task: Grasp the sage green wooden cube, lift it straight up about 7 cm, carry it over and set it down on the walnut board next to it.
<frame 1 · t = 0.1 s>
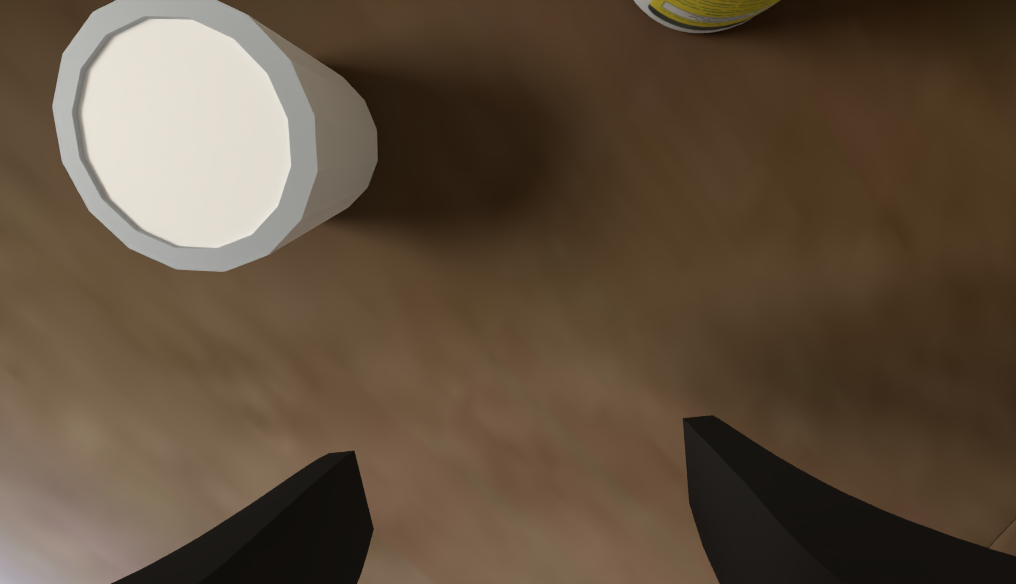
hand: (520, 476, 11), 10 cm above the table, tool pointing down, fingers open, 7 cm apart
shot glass: (307, 142, 20), on the table
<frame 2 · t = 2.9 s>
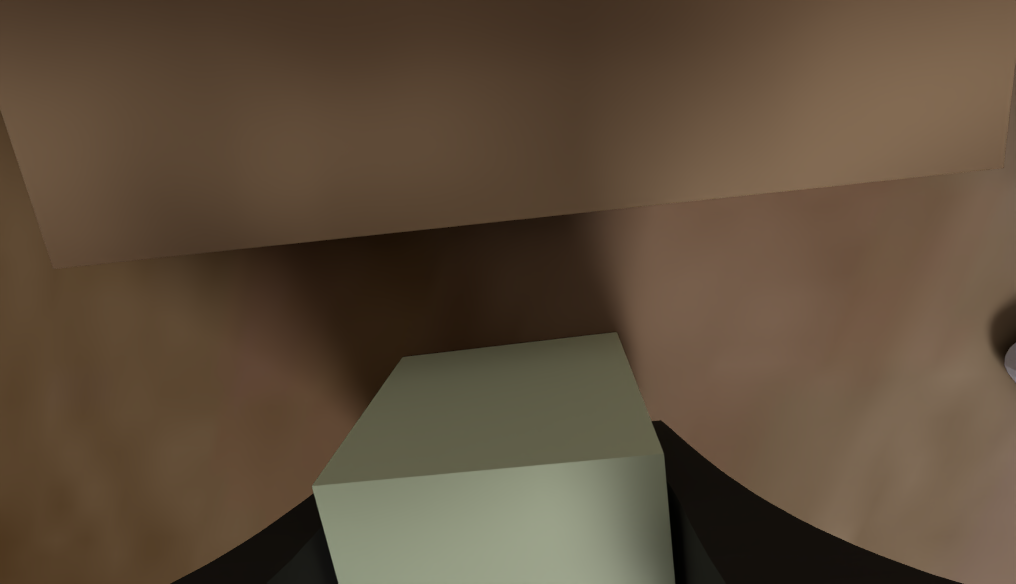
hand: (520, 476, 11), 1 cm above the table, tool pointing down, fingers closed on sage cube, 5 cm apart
sage cube: (522, 441, 13), on the table, touching gripper
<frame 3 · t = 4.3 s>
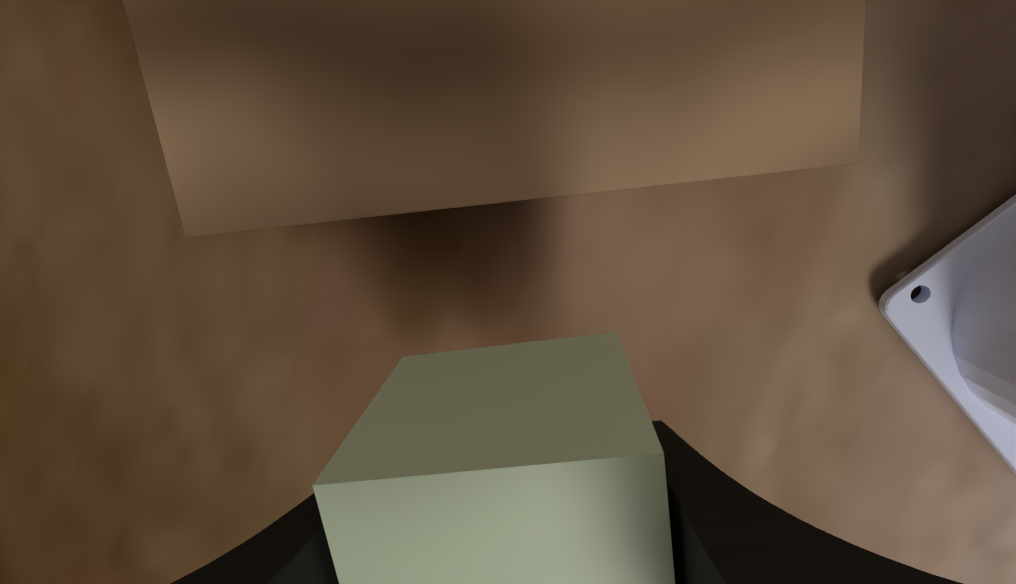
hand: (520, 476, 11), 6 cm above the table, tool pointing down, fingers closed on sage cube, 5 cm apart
sage cube: (522, 441, 13), point 4 cm above the table, touching gripper
walnut board: (487, 31, 15), on the table
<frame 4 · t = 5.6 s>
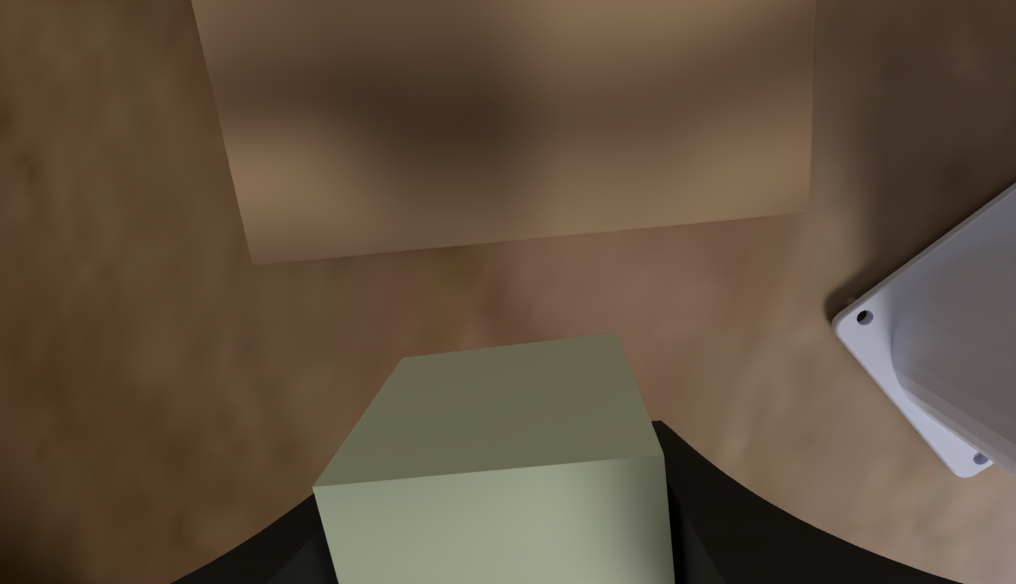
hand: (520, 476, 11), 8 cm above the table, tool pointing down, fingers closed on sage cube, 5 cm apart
sage cube: (522, 442, 13), point 7 cm above the table, touching gripper
walnut board: (505, 97, 17), on the table
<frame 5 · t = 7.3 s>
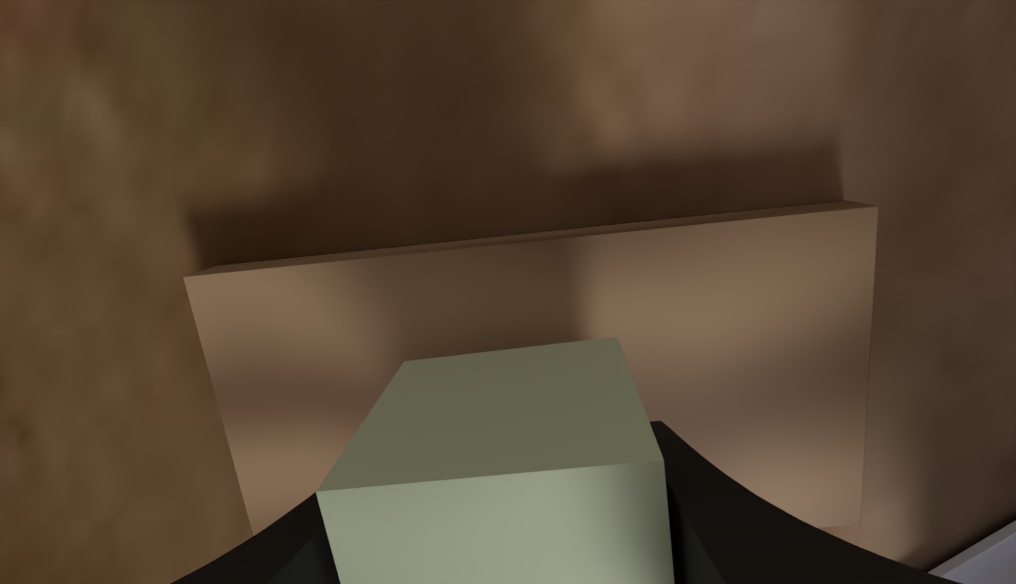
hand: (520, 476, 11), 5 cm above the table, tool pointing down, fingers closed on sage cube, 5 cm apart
sage cube: (523, 445, 13), point 3 cm above the table, touching gripper
walnut board: (528, 380, 16), on the table
when the fingers open (4 cm above the table, at t = 8.7 s): sage cube drops 1 cm, resting on walnut board.
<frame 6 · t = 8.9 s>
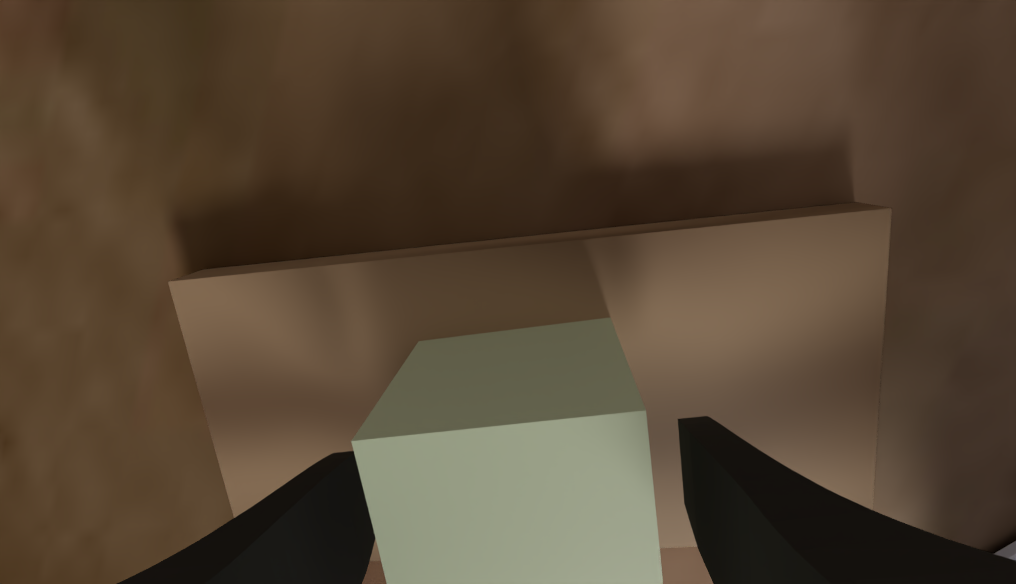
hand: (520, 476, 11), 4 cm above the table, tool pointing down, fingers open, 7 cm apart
sage cube: (526, 417, 14), point 1 cm above the table, touching walnut board
walnut board: (527, 388, 16), on the table
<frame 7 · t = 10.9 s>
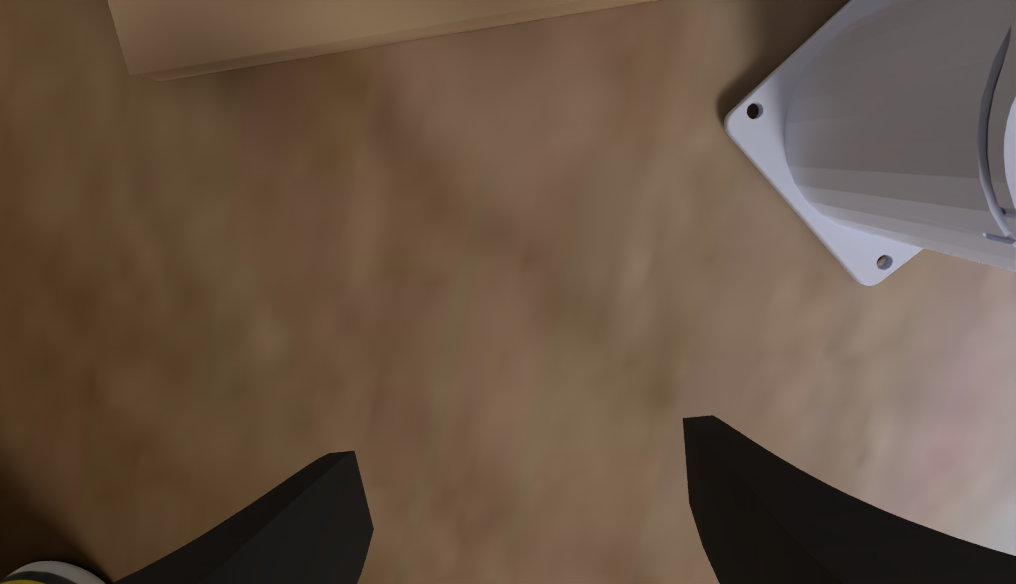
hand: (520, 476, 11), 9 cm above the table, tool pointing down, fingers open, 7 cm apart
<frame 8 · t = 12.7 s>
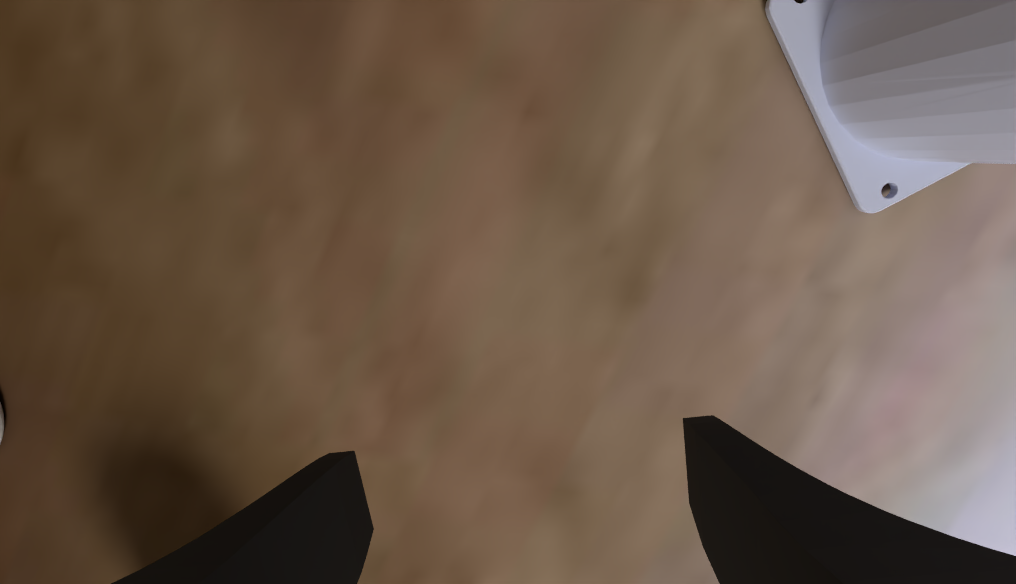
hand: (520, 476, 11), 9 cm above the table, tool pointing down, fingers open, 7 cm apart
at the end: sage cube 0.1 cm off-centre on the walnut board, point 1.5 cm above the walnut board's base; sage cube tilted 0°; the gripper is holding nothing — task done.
